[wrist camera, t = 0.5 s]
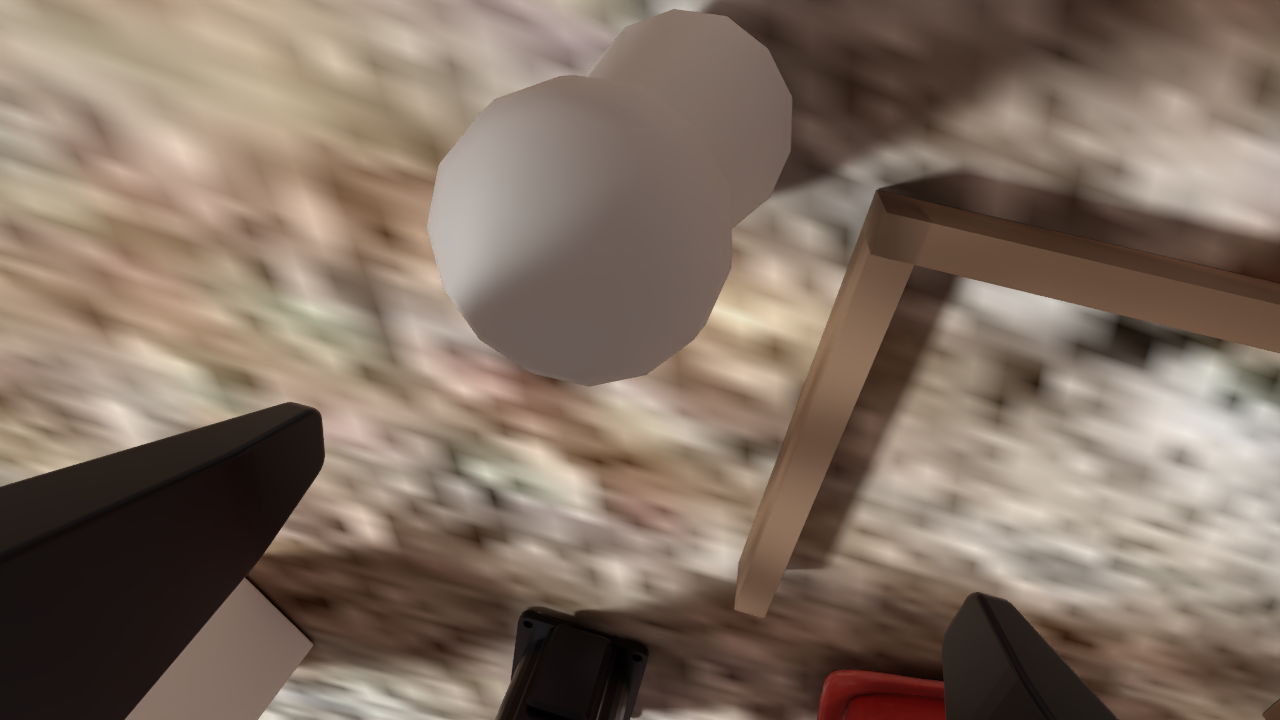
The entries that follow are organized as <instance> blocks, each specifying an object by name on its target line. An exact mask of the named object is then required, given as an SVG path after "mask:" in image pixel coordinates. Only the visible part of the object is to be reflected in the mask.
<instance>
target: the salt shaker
mask: <svg viewBox="0 0 1280 720" xmlns="http://www.w3.org/2000/svg"><path fill="white" fill-rule="evenodd" d="M791 129H792V96H791V94H790V92H789V90H788V88H787V86H786V84H785V82H784V80H783V78H782V76H781V74H780V72H779V70H778V68H777V66H776V64H775V62H774V60H773V58H772V56H771V54H770V52H769V50H768V49H767V48H766V47H765V46H764V45H762V44H761V43H760V42H759V41H757V40H756V39H755V38H754V37H752V36H751V35H750V34H749V33H747V32H746V31H745V30H744V29H742V28H741V27H740V26H738V25H737V24H736V23H735V22H733V21H732V20H731V19H730V18H728V17H727V16H722V15H715V14H707V13H699V12H691V11H684V10H676V9H673V10H670V11H668V12H665V13H662V14H660V15H657V16H654V17H652V18H649V19H646V20H644V21H641V22H638V23H636V24H633V25H630V26H627V27H625V28H624V30H623V31H622V32H621V33H620V34H619V35H618V36H617V38H616V39H615V40H614V41H613V42H612V43H611V44H610V46H609V47H608V48H607V49H606V50H605V51H604V53H603V54H602V55H601V56H600V57H599V58H598V59H597V61H596V62H595V63H594V64H593V65H592V66H591V68H590V69H589V71H588V73H587V74H586V76H585V77H584V76H577V75H569V76H559V77H556V78H553V79H551V80H548V81H545V82H542V83H539V84H537V85H534V86H531V87H528V88H525V89H522V90H520V91H517V92H514V93H511V94H508V95H506V96H503V97H500V98H497V99H494V100H493V101H492V102H491V103H490V104H489V105H488V106H487V107H486V108H485V109H484V110H483V111H482V112H481V113H480V114H479V115H478V116H477V117H476V119H475V120H474V121H473V122H472V124H471V125H470V126H469V128H468V129H467V130H466V131H465V133H464V134H463V135H462V136H461V138H460V139H459V140H458V141H457V143H456V144H455V145H454V146H453V148H452V149H451V150H450V152H449V153H448V154H447V155H446V157H445V158H444V159H443V160H442V162H441V163H440V164H439V167H438V173H437V178H436V183H435V188H434V193H433V198H432V203H431V208H430V213H429V218H428V223H427V230H428V233H429V237H430V241H431V245H432V248H433V252H434V256H435V260H436V263H437V267H438V271H439V275H440V278H441V282H442V286H443V289H444V290H445V292H446V293H447V294H448V296H449V297H450V299H451V300H452V302H453V303H454V304H455V306H456V307H457V309H458V310H459V311H460V313H461V314H462V316H463V317H464V318H465V320H466V321H467V323H468V324H469V325H470V327H471V328H472V330H473V331H474V332H475V334H476V335H477V337H478V338H479V339H480V340H481V341H483V342H484V343H486V344H487V345H489V346H490V347H492V348H493V349H495V350H496V351H498V352H500V353H501V354H503V355H504V356H506V357H507V358H509V359H510V360H512V361H513V362H515V363H516V364H518V365H520V366H521V367H523V368H524V369H526V370H527V371H529V372H530V373H533V374H537V375H542V376H546V377H550V378H555V379H559V380H563V381H568V382H572V383H576V384H581V385H585V386H594V385H599V384H604V383H609V382H614V381H619V380H623V379H628V378H633V377H638V376H643V375H647V374H648V373H649V372H651V371H652V370H653V369H655V368H656V367H657V366H659V365H660V364H662V363H663V362H664V361H666V360H667V359H668V358H670V357H671V356H672V355H674V354H675V353H676V352H678V351H679V350H681V349H682V348H683V347H685V346H686V345H687V344H689V343H690V342H691V341H693V340H694V339H695V337H696V336H697V335H698V334H699V332H700V331H701V330H702V329H703V327H704V326H705V325H706V322H707V320H708V318H709V316H710V314H711V311H712V309H713V307H714V305H715V303H716V300H717V298H718V296H719V294H720V292H721V289H722V287H723V285H724V283H725V281H726V278H727V276H728V274H729V272H730V270H731V262H732V235H731V229H732V228H733V227H735V226H736V225H737V224H738V223H739V222H741V221H742V220H743V219H744V218H745V217H747V216H748V215H749V214H750V213H751V212H753V211H754V210H755V209H756V208H758V207H759V206H760V205H761V204H762V203H764V202H765V201H766V200H767V199H768V198H770V196H771V194H772V192H773V190H774V187H775V185H776V183H777V181H778V178H779V176H780V174H781V172H782V169H783V167H784V165H785V163H786V161H787V158H788V156H789V154H790V152H791Z"/></svg>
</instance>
